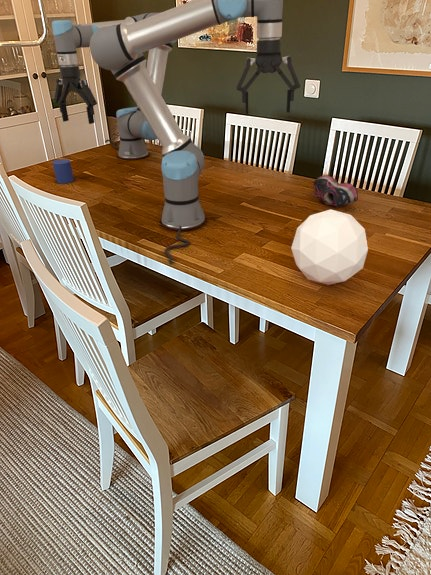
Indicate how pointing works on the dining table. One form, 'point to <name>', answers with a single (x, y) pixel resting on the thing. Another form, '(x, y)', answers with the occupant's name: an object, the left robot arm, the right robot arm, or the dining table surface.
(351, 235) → the sphere
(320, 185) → the athletic shoe
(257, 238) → the dining table surface
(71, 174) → the canister
